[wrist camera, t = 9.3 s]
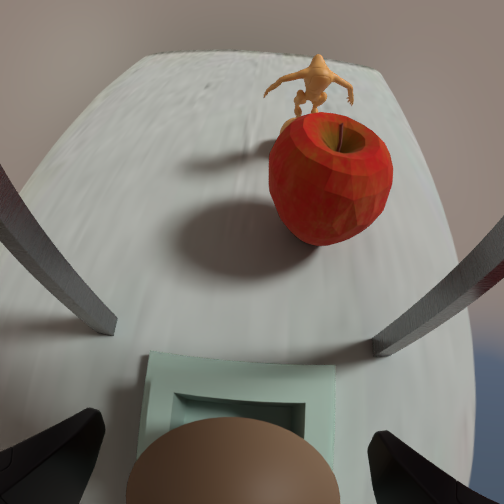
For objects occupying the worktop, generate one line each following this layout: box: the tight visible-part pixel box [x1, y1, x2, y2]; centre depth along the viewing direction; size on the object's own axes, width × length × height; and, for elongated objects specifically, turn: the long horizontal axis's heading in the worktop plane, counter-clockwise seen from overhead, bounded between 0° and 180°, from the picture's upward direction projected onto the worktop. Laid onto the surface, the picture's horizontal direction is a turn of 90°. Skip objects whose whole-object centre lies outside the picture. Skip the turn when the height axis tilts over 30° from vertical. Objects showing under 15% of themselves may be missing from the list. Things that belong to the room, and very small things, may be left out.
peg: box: [126, 417, 340, 504], centre depth 9 cm, size 4×4×12 cm
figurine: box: [264, 54, 354, 134], centre depth 25 cm, size 8×6×12 cm
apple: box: [269, 112, 393, 246], centre depth 20 cm, size 9×8×11 cm
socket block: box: [136, 351, 335, 472], centre depth 13 cm, size 12×12×5 cm
